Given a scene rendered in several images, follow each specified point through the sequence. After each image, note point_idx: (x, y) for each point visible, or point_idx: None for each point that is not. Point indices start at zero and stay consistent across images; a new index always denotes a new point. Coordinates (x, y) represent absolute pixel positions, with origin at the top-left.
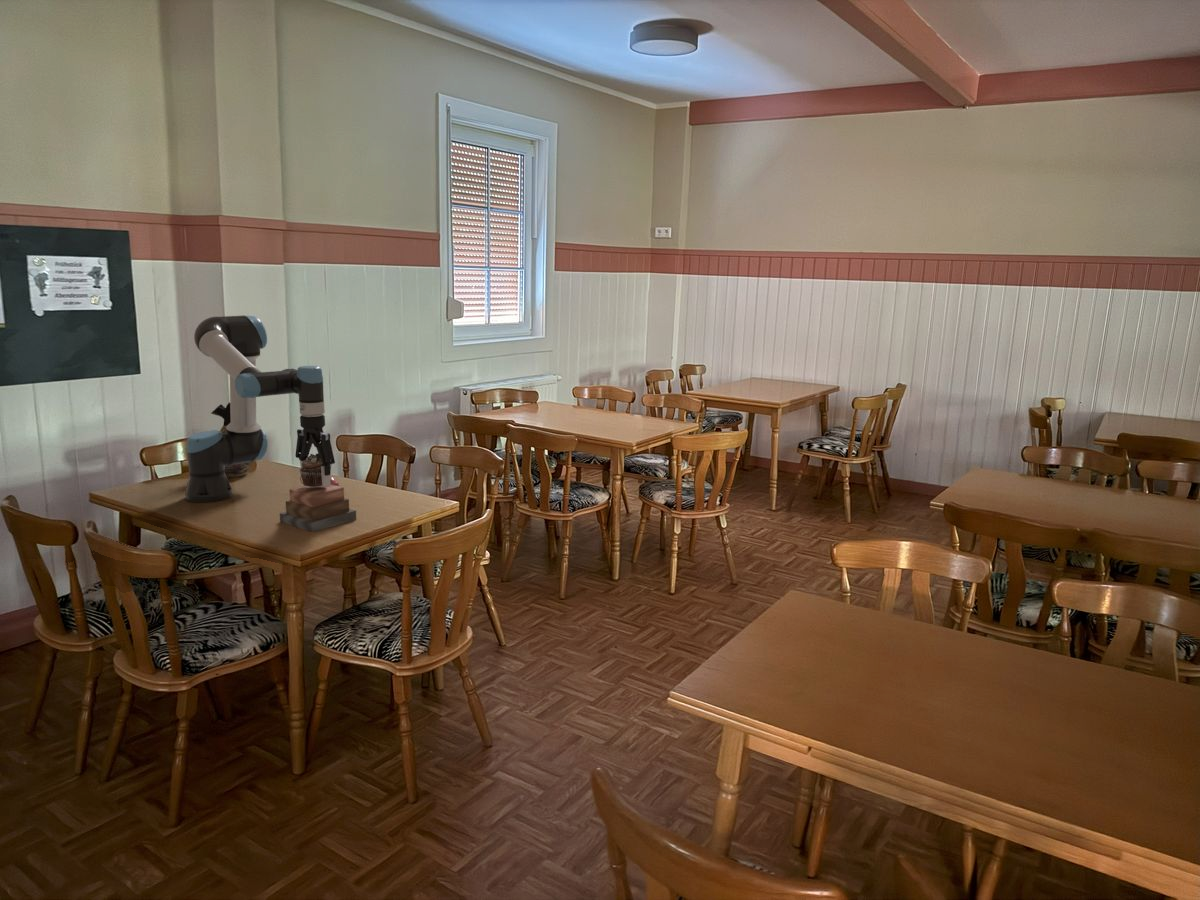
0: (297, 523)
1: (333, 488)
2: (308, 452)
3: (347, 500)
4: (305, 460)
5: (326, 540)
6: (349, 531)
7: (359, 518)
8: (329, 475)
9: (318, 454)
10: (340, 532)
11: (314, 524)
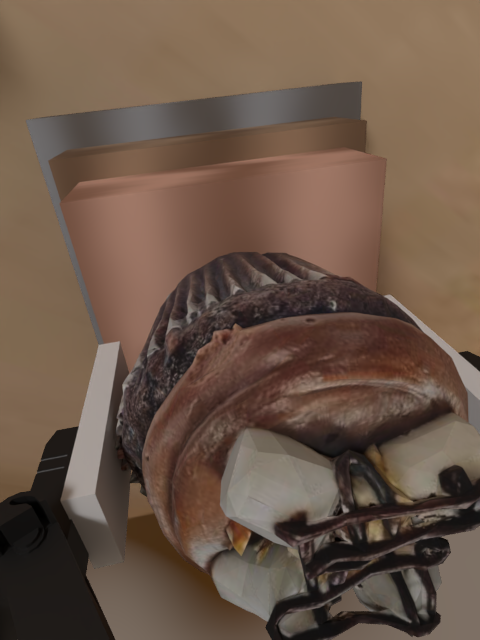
0: None
1: (342, 236)
2: (108, 636)
3: (362, 132)
4: (95, 530)
5: (446, 334)
6: (447, 223)
7: (339, 57)
8: (432, 338)
9: (341, 549)
10: (425, 256)
11: None
